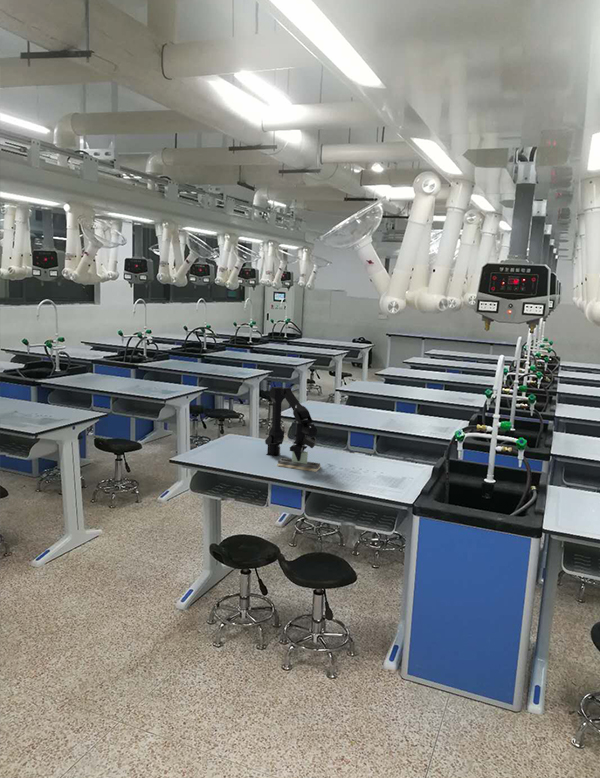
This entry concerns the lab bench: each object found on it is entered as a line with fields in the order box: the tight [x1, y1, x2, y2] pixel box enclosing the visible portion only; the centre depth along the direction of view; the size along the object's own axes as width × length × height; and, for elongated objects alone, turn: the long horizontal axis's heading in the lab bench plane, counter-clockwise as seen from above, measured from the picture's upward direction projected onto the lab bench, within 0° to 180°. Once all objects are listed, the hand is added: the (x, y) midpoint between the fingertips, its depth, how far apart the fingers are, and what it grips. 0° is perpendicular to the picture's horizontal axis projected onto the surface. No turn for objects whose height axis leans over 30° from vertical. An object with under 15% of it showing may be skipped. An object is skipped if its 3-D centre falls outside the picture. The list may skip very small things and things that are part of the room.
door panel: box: [291, 450, 309, 464], centre depth 312 cm, size 8×2×7 cm, turn 73°
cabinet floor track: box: [276, 457, 322, 473], centre depth 312 cm, size 22×9×2 cm, turn 73°
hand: (299, 460), depth 312 cm, fingers closed on door panel, 2 cm apart
